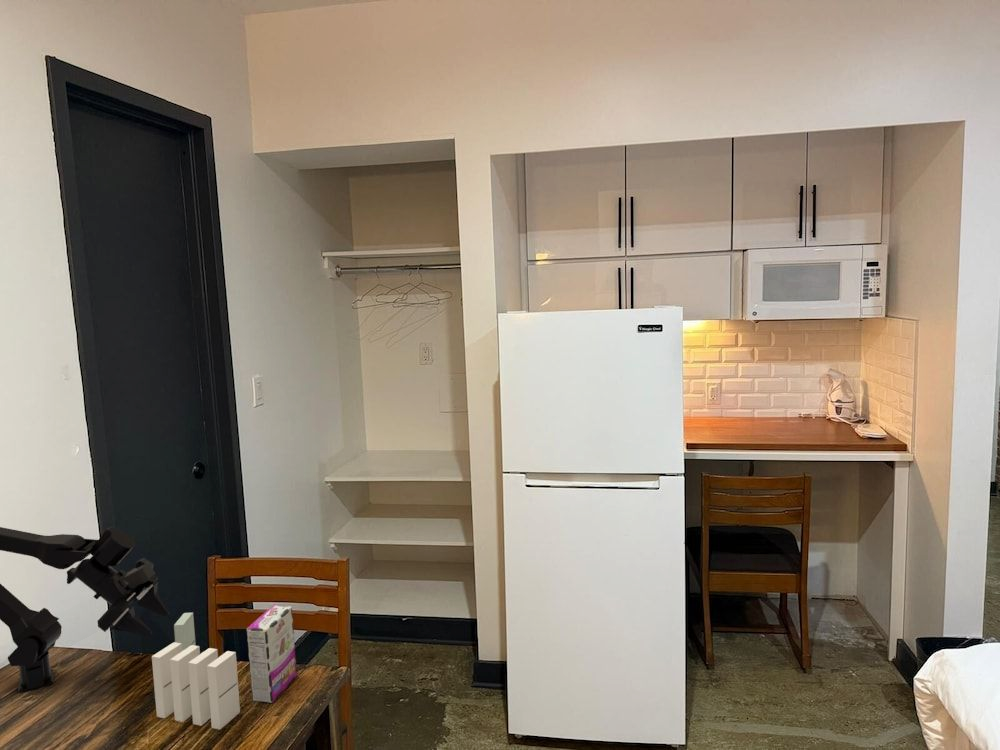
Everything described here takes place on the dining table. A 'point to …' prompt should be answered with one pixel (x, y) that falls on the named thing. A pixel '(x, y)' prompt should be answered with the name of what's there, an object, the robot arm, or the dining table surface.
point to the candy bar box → (271, 653)
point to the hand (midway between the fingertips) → (159, 624)
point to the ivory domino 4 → (223, 689)
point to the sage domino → (185, 630)
